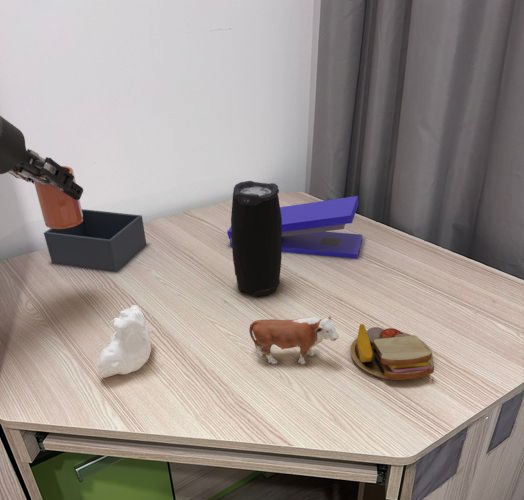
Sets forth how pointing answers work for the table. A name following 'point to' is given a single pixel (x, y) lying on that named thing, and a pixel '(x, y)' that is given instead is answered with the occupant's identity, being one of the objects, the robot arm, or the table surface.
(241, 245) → the portable speaker
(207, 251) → the table surface
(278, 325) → the bull figurine
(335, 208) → the stapler
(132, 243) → the tub
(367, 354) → the toy sandwich meal
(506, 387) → the table surface
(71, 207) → the rice cup
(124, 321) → the bust
